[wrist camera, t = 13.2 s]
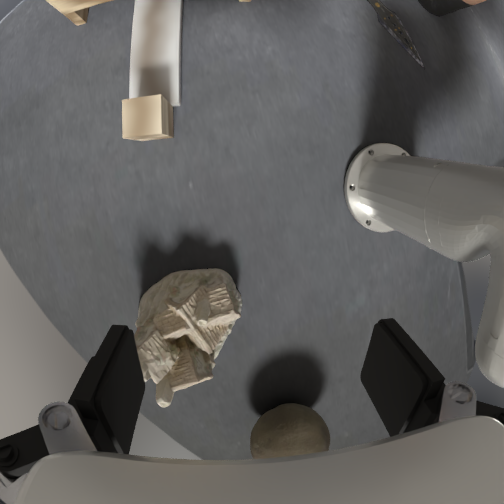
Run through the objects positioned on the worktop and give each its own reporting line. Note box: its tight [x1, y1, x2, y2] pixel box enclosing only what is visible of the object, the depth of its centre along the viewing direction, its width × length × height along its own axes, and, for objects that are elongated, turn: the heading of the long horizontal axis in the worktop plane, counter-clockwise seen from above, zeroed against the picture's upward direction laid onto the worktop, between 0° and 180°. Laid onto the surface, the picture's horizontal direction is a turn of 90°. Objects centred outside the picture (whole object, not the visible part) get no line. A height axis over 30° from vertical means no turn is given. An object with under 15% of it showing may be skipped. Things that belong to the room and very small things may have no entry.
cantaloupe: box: [250, 403, 330, 459], centre depth 43 cm, size 14×14×15 cm
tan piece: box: [122, 0, 183, 141], centre depth 26 cm, size 6×24×8 cm, turn 1°
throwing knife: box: [367, 0, 425, 69], centre depth 30 cm, size 4×20×1 cm, turn 40°
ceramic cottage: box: [134, 268, 242, 407], centre depth 35 cm, size 16×16×15 cm
